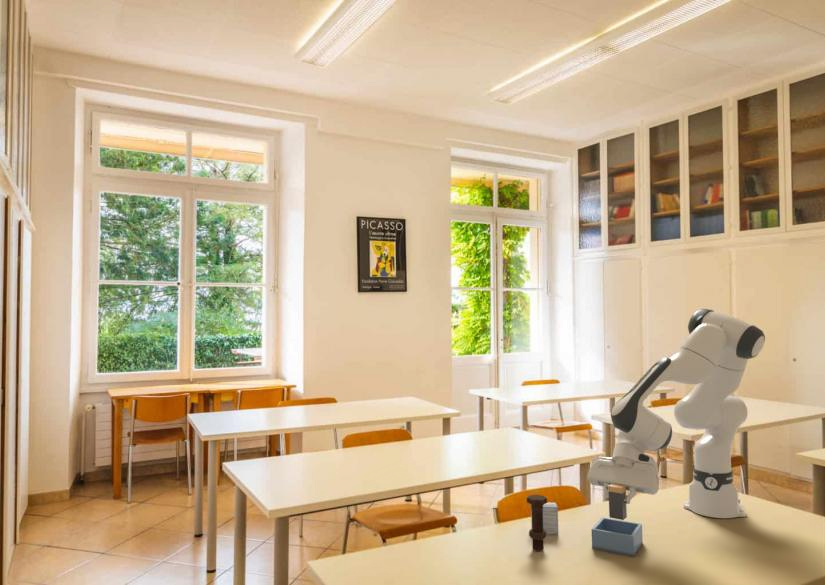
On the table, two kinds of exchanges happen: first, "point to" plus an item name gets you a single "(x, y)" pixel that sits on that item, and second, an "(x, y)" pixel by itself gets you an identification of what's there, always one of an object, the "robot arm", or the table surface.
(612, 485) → the block
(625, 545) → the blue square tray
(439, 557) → the table surface
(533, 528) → the bolt
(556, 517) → the medicine box
